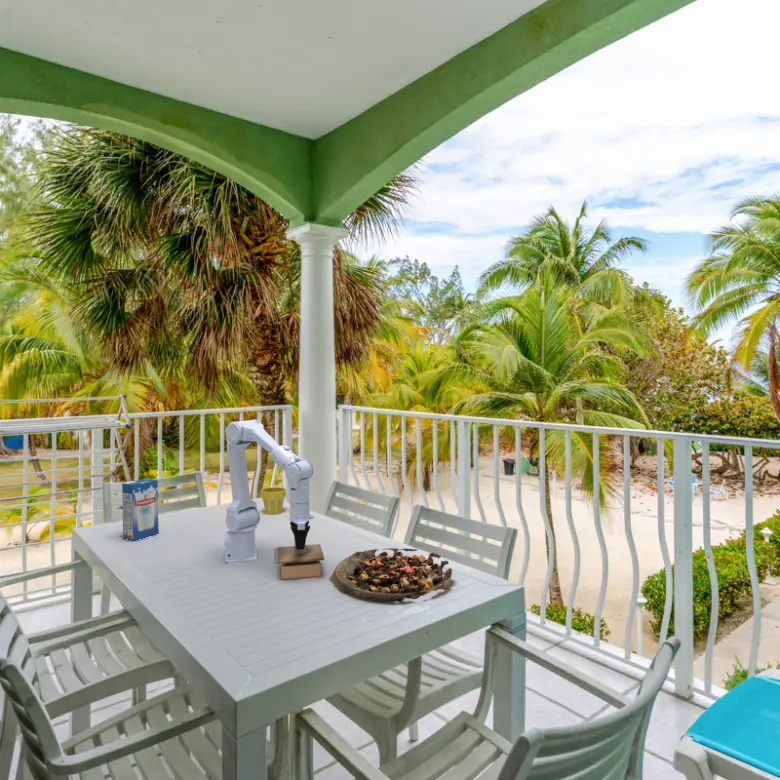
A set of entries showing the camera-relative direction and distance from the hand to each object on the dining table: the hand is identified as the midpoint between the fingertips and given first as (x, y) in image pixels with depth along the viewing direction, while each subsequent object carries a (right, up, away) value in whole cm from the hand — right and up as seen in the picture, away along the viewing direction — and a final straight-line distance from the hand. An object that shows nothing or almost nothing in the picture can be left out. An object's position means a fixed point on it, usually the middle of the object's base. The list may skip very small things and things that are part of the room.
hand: (300, 547), depth 165 cm
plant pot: (-22, -5, +69) cm, 73 cm away
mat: (-3, -7, +15) cm, 17 cm away
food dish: (+27, -8, -5) cm, 28 cm away
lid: (0, -2, 0) cm, 2 cm away
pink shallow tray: (0, -8, 0) cm, 8 cm away
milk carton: (-63, -7, +36) cm, 73 cm away
